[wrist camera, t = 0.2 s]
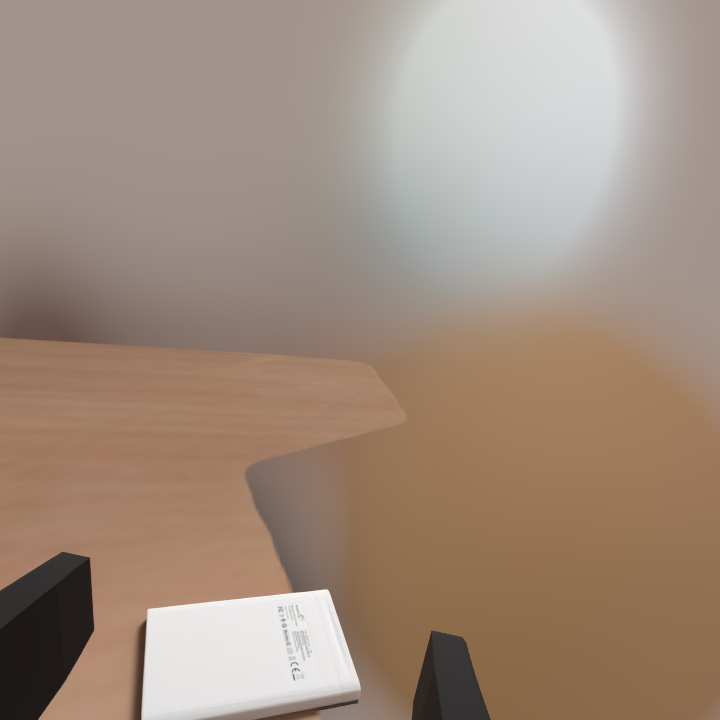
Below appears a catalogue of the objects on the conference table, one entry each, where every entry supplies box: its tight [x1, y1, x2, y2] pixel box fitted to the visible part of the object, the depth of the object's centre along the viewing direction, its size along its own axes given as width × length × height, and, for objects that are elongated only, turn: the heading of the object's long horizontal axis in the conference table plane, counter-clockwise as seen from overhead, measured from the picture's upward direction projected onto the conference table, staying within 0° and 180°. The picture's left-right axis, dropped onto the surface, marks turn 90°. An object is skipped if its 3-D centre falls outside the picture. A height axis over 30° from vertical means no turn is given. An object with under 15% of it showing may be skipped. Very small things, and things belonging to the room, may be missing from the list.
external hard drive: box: [141, 590, 361, 720], centre depth 34 cm, size 2×8×12 cm
